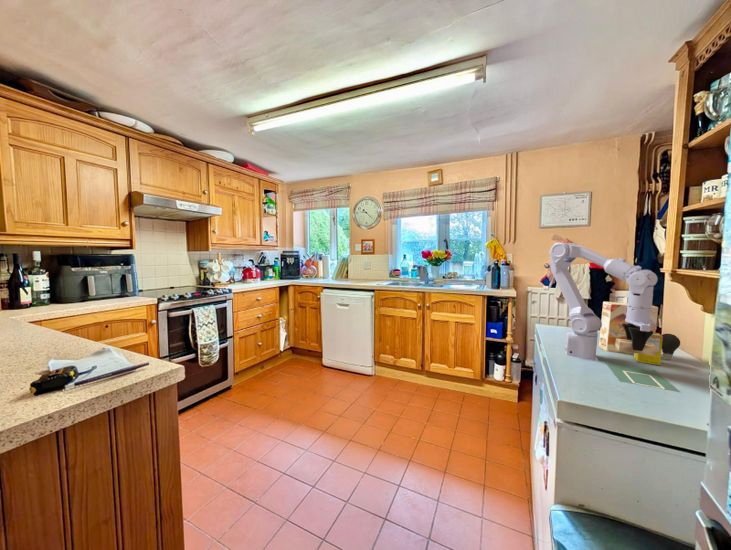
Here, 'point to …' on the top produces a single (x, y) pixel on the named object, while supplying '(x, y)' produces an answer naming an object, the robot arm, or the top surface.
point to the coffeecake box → (617, 325)
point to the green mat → (640, 376)
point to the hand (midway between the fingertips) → (634, 348)
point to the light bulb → (669, 345)
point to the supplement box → (650, 359)
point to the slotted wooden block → (627, 347)
